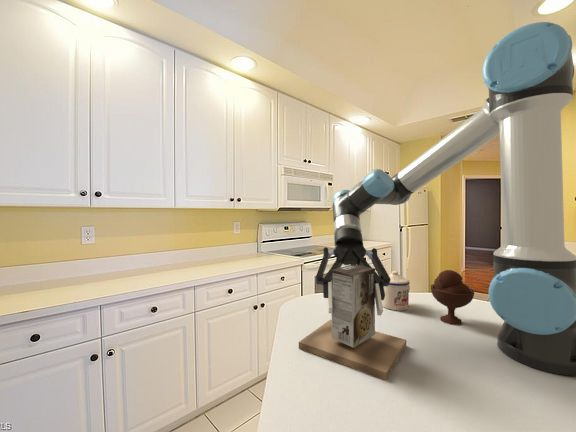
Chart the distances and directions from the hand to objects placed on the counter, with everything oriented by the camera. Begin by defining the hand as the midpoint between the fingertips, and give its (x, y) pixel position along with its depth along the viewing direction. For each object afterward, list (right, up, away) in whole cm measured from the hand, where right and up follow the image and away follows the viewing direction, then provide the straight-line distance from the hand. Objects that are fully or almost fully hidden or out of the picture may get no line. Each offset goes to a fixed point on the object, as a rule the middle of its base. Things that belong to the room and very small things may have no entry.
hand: (355, 311), depth 61 cm
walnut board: (0, -9, +3) cm, 10 cm away
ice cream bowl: (+32, -9, +18) cm, 38 cm away
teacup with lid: (+22, -9, +31) cm, 39 cm away
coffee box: (0, -7, +3) cm, 8 cm away
